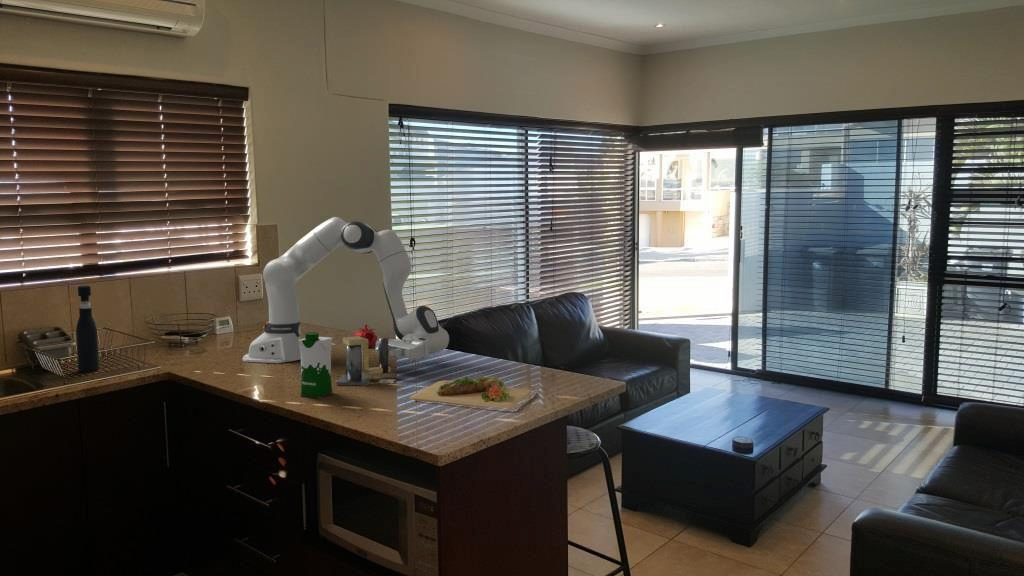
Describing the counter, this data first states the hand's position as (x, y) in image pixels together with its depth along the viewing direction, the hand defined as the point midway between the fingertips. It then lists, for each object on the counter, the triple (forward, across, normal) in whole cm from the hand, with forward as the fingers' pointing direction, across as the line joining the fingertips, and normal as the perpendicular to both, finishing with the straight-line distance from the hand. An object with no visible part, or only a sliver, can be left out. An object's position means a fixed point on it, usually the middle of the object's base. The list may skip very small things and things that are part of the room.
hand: (382, 352), depth 260 cm
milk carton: (+29, +3, +9) cm, 30 cm away
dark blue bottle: (+66, -81, +8) cm, 105 cm away
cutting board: (-4, +41, +10) cm, 42 cm away
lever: (+6, 0, +7) cm, 9 cm away
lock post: (+5, -1, +9) cm, 10 cm away
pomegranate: (-29, -47, +9) cm, 56 cm away
